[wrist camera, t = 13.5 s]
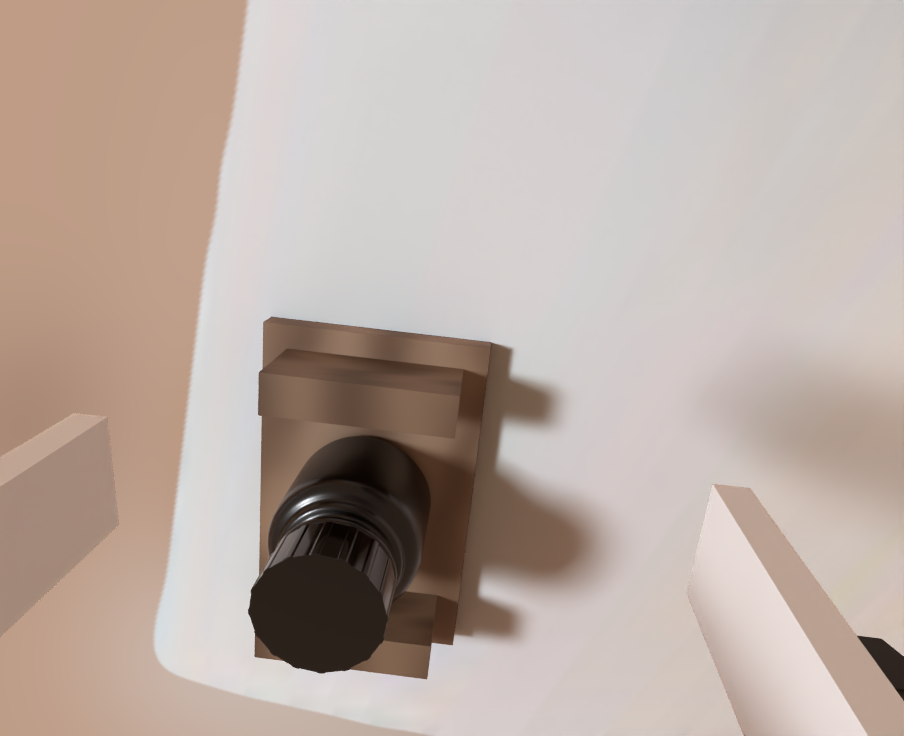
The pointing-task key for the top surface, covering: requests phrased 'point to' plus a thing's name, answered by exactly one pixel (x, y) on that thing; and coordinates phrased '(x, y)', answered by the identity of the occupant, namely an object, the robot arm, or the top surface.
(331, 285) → the top surface
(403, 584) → the ink bottle
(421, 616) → the cradle
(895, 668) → the robot arm
